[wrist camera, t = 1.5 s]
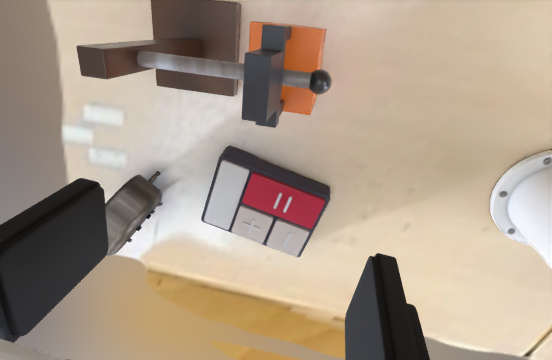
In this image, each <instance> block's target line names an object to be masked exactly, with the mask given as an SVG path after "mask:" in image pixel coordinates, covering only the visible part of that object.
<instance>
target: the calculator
mask: <svg viewBox="0 0 552 360" xmlns="http://www.w3.org/2000/svg"><path fill="white" fill-rule="evenodd" d="M329 200H330V188H329V187H328V186H326V185H324V184H321V183H319V182H316V181H313V180H311V179H308V178H306V177H303V176H301V175H298V174H295V173H293V172H290V171H288V170H285V169H283V168H280V167H277V166H275V165H272V164H270V163H267V162H265V161H262V160H260V159H258V158H257V157H255V156H254V155H252V154H249V153H247V152H244V151H242V150H239V149H236V148H234V147H231V146H228V147H227V148H226V149H225V150H224V152H223V153H222V154H221V156H220V157H219V161H218V164H217V167H216V171H215V174H214V177H213V181H212V184H211V187H210V191H209V194H208V197H207V201H206V204H205V208H204V211H203V214H202V218H201V220H202V221H203V222H205V223H208V224H210V225H213V226H215V227H218V228H221V229H223V230H226V231H229V232H231V233H234V234H237V235H239V236H242V237H245V238H247V239H250V240H252V241H255V242H258V243H260V244H263V245H266V246H268V247H271V248H274V249H276V250H279V251H282V252H284V253H287V254H289V255H292V256H295V257H300V256H301V254H302V252H303V250H304V248H305V246H306V244H307V242H308V241H309V239H310V237H311V235H312V233H313V231H314V229H315V227H316V225H317V223H318V221H319V220H320V218H321V216H322V214H323V212H324V210H325V208H326V206H327V204H328V202H329Z"/></svg>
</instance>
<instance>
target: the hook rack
mask: <svg viewBox="0 0 552 360" xmlns="http://www.w3.org/2000/svg"><path fill="white" fill-rule="evenodd" d="M240 8H241V4H240V3H233V2H224V1H214V0H151V9H152V23H153V37H154V40H144V41H131V42H119V43H106V44H93V45H80V46H77V52H78V58H79V64H80V70H81V75H82V76H86V77H93V78H100V79H111V78H115V77H119V76H124V75H128V74H133V73H137V72H141V71H146V70H150V69H154V68H156V80H157V86H162V87H169V88H176V89H183V90H190V91H197V92H205V93H212V94H219V95H226V96H235V95H236V94H237V82H238V79H239V80H244V64H241V63H238V57H239V32H240ZM331 82H332V81H331V76H330V75H329V73H328V72H327V71H325V70H322V69H318V70H315V71H313V72H304V71H296V70H288V69H284V72H283V81H282V85H283V86H291V87H298V88H306V89H310V90H311V91H312V92H313V93H315V94H323V93H325V92H327V91H328V90H329V88H330V86H331Z"/></svg>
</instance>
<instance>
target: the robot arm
mask: <svg viewBox="0 0 552 360" xmlns="http://www.w3.org/2000/svg"><path fill="white" fill-rule="evenodd" d="M490 212H491V216H492V218H493V220H494V222H495V224H496V225H497V226H498V227H499V229H500V230H501V231H502V232H503V233H504V234H505V235H506V236H508V237H510V238H511V239H513V240H515V241H518V242H520V243H523V244H528V245H532V247H533V248H534V249H535V250H536V251H537V252H538V254H539V255H540V256H541V257H542V258H543V260H544V261H545V262H546V263H547V264H548V265H549V267H550V268H551V269H552V150H549V151H544V152H541V153H538V154H535V155H532V156H530V157H528V158H526V159H524V160H522V161H520V162H519V163H517V164H516V165H514V166H513V167H511V168H510V169H509V170H508V171H507V172H506V173H505V174H504V175H503V176H502V177H501V179H500V180H499V181H498V182H497V184H496V186H495V188H494V190H493V192H492V195H491V199H490ZM108 249H109V244H108V232H107V221H106V209H105V198H104V190H103V188H101V187H100V184H99V183H98V182H95V181H91V180H87V179H84V178H79V179H77V180H75V181H74V182H72V183H70V184H69V185H67V186H65V187H64V188H62V189H60V190H59V191H57V192H55V193H54V194H52V195H50V196H49V197H47V198H45V199H44V200H42V201H40V202H38V203H37V204H35V205H33V206H32V207H30V208H28V209H27V210H25V211H23V212H22V213H20V214H18V215H16V216H15V217H14V218H12V219H10V220H8V221H7V222H5V223H3V224H1V225H0V360H69V359H66V358H62V357H59V356H56V355H53V354H49V353H46V352H42V351H39V350H36V349H32V348H29V347H26V346H22V345H19V344H15V343H14V342H15V341H16V340H17V339H18V338H19V337H20V336H24V335H26V334H27V333H29V332H30V331H31V330H32V329H33V328H34V327H35V326H36V325H37V324H38V323H39V322H40V321H41V320H42V319H43V318H44V317H45V316H46V315H47V314H48V313H49V312H50V311H51V310H52V309H53V308H54V307H55V306H56V305H57V304H58V303H59V302H60V301H61V300H62V299H63V298H64V297H65V296H66V295H67V294H68V293H69V292H70V291H71V290H72V289H73V288H74V287H75V286H76V285H77V284H78V283H79V282H80V281H81V280H82V279H83V278H84V277H85V276H86V275H87V274H88V273H89V272H90V271H91V270H92V269H93V268H94V267H95V266H96V265H97V264H98V263H99V262H100V261H101V260H102V259H103V258H104V257H105V256H106V254H107V252H108ZM345 355H346V360H430V358H429V355H428V351H427V347H426V343H425V340H424V336H423V332H422V328H421V325H420V321H419V317H418V313H417V310H416V308H415V307H414V306H413V305H411V304H407V303H406V299H405V294H404V290H403V286H402V282H401V278H400V273H399V269H398V265H397V261H396V258H394V257H391V256H387V255H383V254H379V253H377V254H376V255H375V257H373V256H370V257H369V258H368V260H367V263H366V265H365V268H364V270H363V273H362V275H361V278H360V280H359V283H358V285H357V288H356V290H355V293H354V295H353V298H352V300H351V303H350V305H349V308H348V310H347V313H346V318H345Z"/></svg>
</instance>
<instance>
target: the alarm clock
mask: <svg viewBox="0 0 552 360" xmlns="http://www.w3.org/2000/svg"><path fill="white" fill-rule="evenodd" d="M159 175H160V172H158V171H156V173H155V174H154V175H153V176H152V177H151V178H150V179H149V180H148V181H147V180H146V179H145V178H143V177H142V176H141V175H136V176H134V177H133V178H132V179H130V180H129V181H128V182H127V183H125V184H124V185H123V186H122V187H121V188H120V189H119V190H118V191H117V192H116V193H115V194H114V195H113V196H112V197H111V198H110V199H109V200H108V202H107V203H106V204H105V209H106V221H107V232H108V244H109V249H108V252H107V254H106V255H107V256H109V255H113V254H115V253H117V252H118V251H119V250H120V249H121V248H122V247H123V245H124V244H125V243H126V242H127V241H128V242H131V241H132V239H130V237H131V236H132V235H133V234H134V233H135V232H136V230H137V231H139V230H140V229H141V228H142V227H141V224H142V223H143V222H144V221H145V220H146V218H147V219H149V218H150V217H151V214H153V213H154V212H155V211H154V209H155V208H156V207H157V206H161V205H162V203H159V202H160V200H161V197H162V194H161V191H160V190H159V189H158V188H157V187H155V186H154V185H153V184H152V183H153V182H154V181H155V179H156V177H157V176H159Z"/></svg>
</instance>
